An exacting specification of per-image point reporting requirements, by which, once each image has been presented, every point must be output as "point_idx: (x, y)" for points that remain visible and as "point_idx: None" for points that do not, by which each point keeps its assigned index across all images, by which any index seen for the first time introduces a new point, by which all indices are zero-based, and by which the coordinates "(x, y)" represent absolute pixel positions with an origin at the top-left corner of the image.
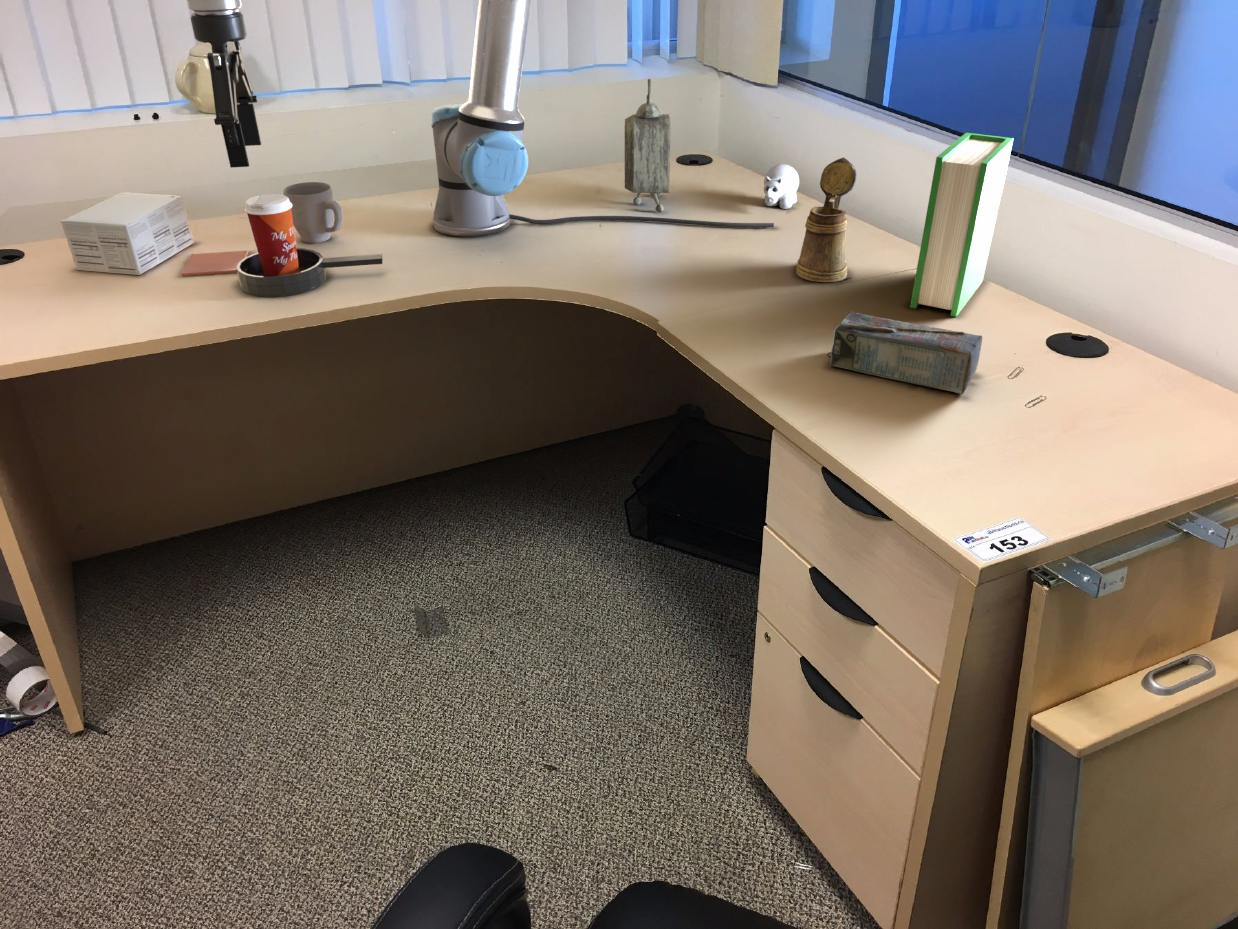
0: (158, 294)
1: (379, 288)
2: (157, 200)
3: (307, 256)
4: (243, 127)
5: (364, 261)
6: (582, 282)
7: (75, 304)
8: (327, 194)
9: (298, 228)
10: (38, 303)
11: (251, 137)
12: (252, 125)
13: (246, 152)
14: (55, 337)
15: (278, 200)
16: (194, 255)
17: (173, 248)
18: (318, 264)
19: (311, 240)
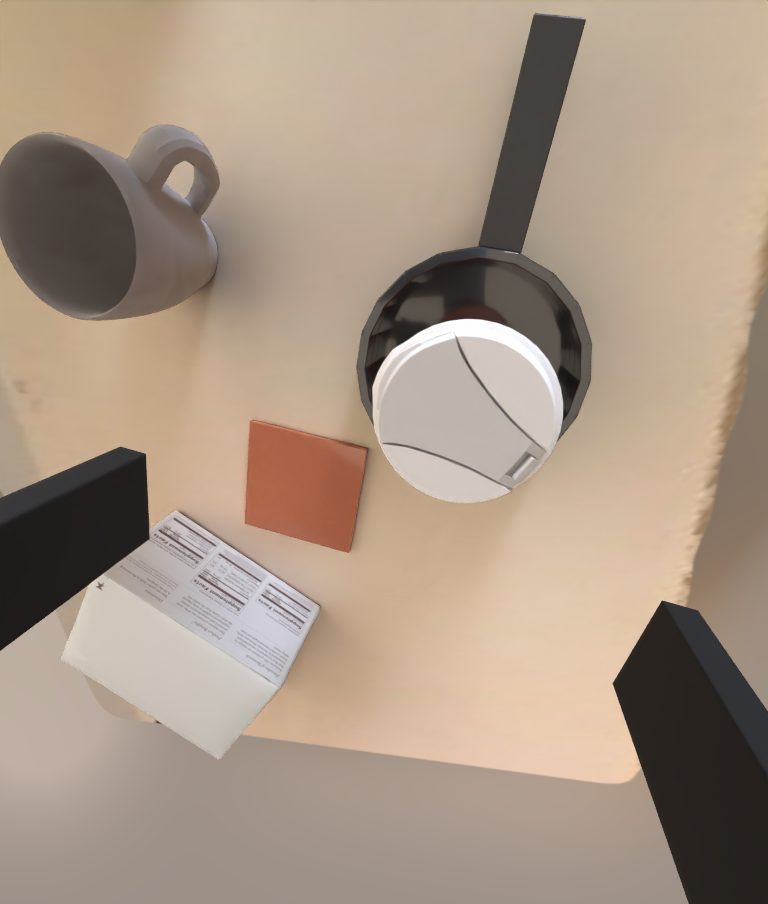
0: (431, 594)
1: (669, 85)
2: (124, 615)
3: (402, 292)
4: (49, 593)
5: (563, 99)
6: None
7: (421, 695)
8: (108, 158)
9: (192, 294)
10: (394, 729)
11: (107, 517)
12: (26, 543)
13: (716, 679)
14: (557, 734)
15: (495, 381)
16: (253, 519)
17: (224, 552)
18: (543, 268)
19: (214, 265)
